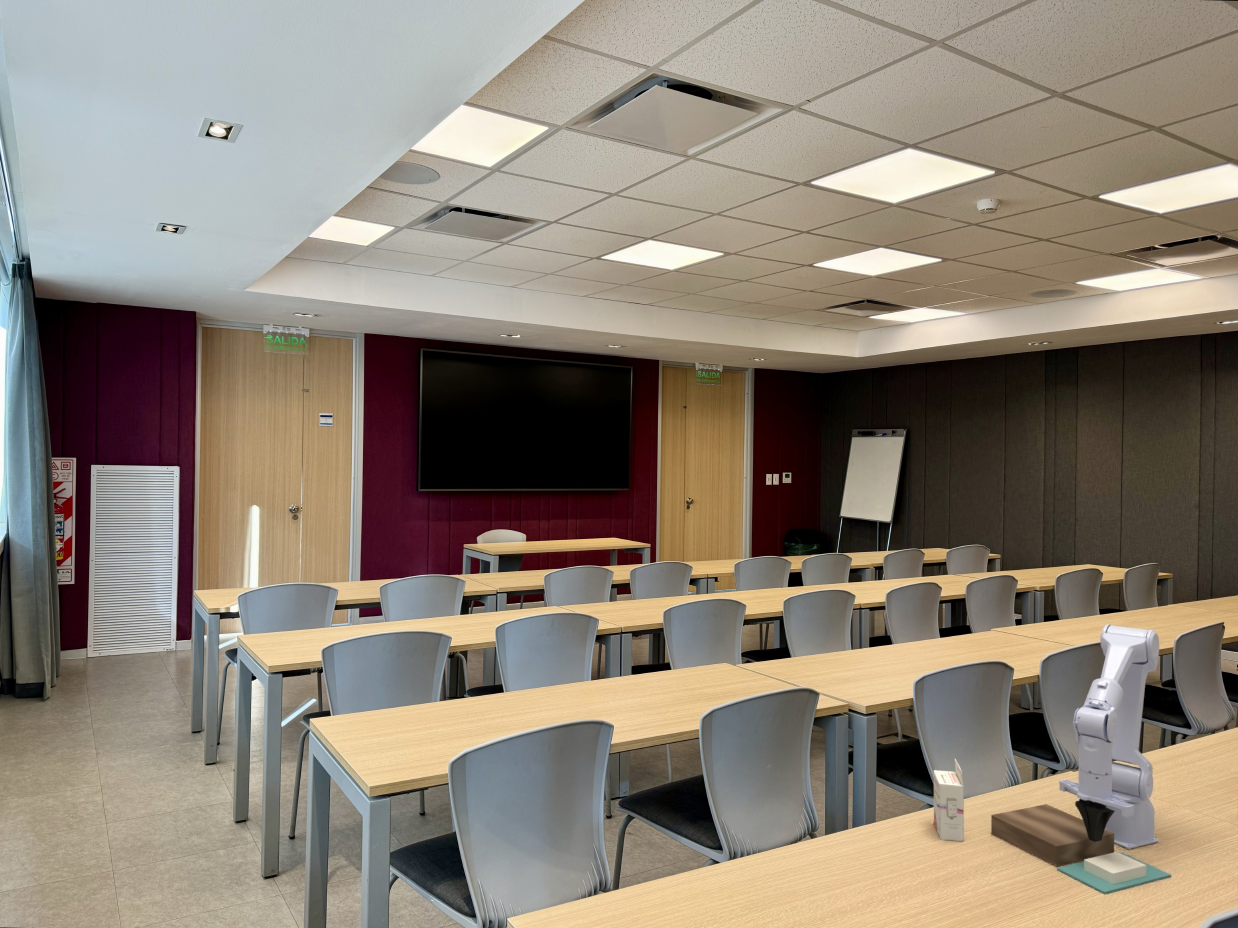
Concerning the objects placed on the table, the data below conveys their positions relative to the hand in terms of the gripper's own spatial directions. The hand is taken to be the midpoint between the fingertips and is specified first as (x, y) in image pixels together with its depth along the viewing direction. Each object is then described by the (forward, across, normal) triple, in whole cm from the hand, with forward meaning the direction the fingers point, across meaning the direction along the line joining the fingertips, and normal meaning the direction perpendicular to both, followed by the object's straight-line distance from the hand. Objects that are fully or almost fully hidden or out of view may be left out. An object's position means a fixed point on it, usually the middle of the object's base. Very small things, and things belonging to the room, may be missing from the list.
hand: (1095, 839), depth 163 cm
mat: (+5, +4, 0) cm, 6 cm away
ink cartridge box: (+5, -22, -16) cm, 28 cm away
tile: (+3, +4, 0) cm, 6 cm away
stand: (+5, -10, 0) cm, 11 cm away
